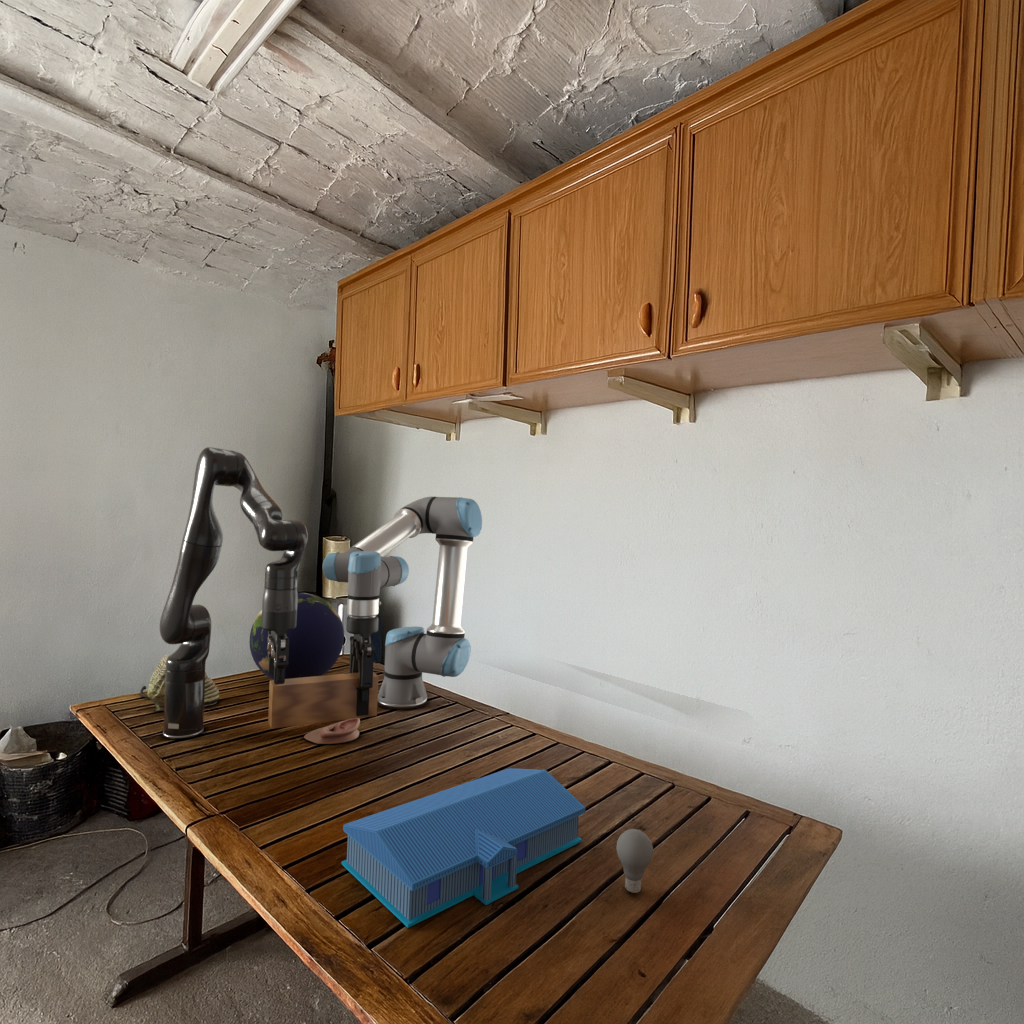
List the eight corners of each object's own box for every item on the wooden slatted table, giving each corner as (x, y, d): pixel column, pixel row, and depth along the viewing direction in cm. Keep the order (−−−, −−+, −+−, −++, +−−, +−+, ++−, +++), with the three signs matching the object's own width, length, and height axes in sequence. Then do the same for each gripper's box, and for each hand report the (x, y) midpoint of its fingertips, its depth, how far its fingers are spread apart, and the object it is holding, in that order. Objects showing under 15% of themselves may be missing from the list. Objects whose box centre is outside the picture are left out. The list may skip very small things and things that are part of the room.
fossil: (144, 707, 182) (145, 655, 182) (212, 696, 194) (213, 647, 194) (151, 716, 175) (153, 662, 175) (221, 703, 188) (223, 653, 188)
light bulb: (610, 879, 108) (613, 822, 108) (644, 879, 109) (647, 822, 109) (619, 902, 102) (622, 840, 102) (655, 901, 103) (658, 840, 103)
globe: (227, 687, 204) (230, 594, 203) (291, 666, 231) (294, 584, 231) (301, 702, 192) (305, 604, 192) (360, 678, 220) (363, 592, 220)
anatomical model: (298, 725, 162) (320, 711, 174) (297, 741, 162) (319, 726, 174) (346, 731, 160) (365, 717, 171) (345, 747, 160) (365, 731, 171)
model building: (420, 939, 92) (422, 871, 92) (340, 863, 110) (342, 805, 110) (595, 848, 118) (598, 795, 118) (507, 798, 136) (509, 752, 136)
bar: (271, 729, 141) (272, 686, 141) (268, 721, 146) (269, 680, 146) (376, 715, 153) (378, 676, 153) (371, 709, 157) (372, 670, 157)
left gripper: (302, 613, 139) (299, 686, 139) (291, 601, 152) (288, 668, 152) (266, 614, 136) (262, 689, 136) (258, 602, 148) (254, 671, 148)
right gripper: (389, 622, 147) (385, 721, 147) (368, 608, 163) (364, 698, 163) (356, 623, 143) (353, 725, 144) (338, 609, 159) (335, 701, 160)
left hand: (276, 678), depth 144 cm, fingers open, 8 cm apart
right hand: (359, 711), depth 153 cm, fingers closed on bar, 5 cm apart
